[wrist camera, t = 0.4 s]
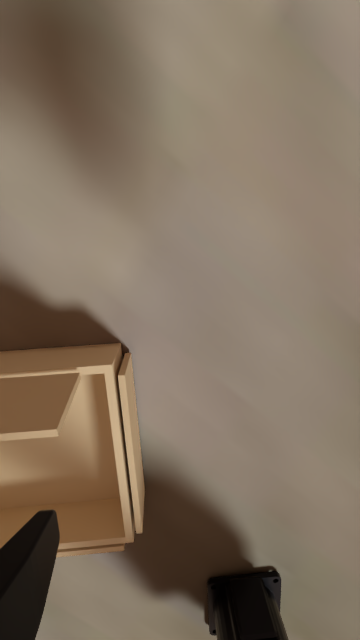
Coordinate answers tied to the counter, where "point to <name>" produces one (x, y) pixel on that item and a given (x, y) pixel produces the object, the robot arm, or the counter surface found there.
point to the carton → (78, 453)
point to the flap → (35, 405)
